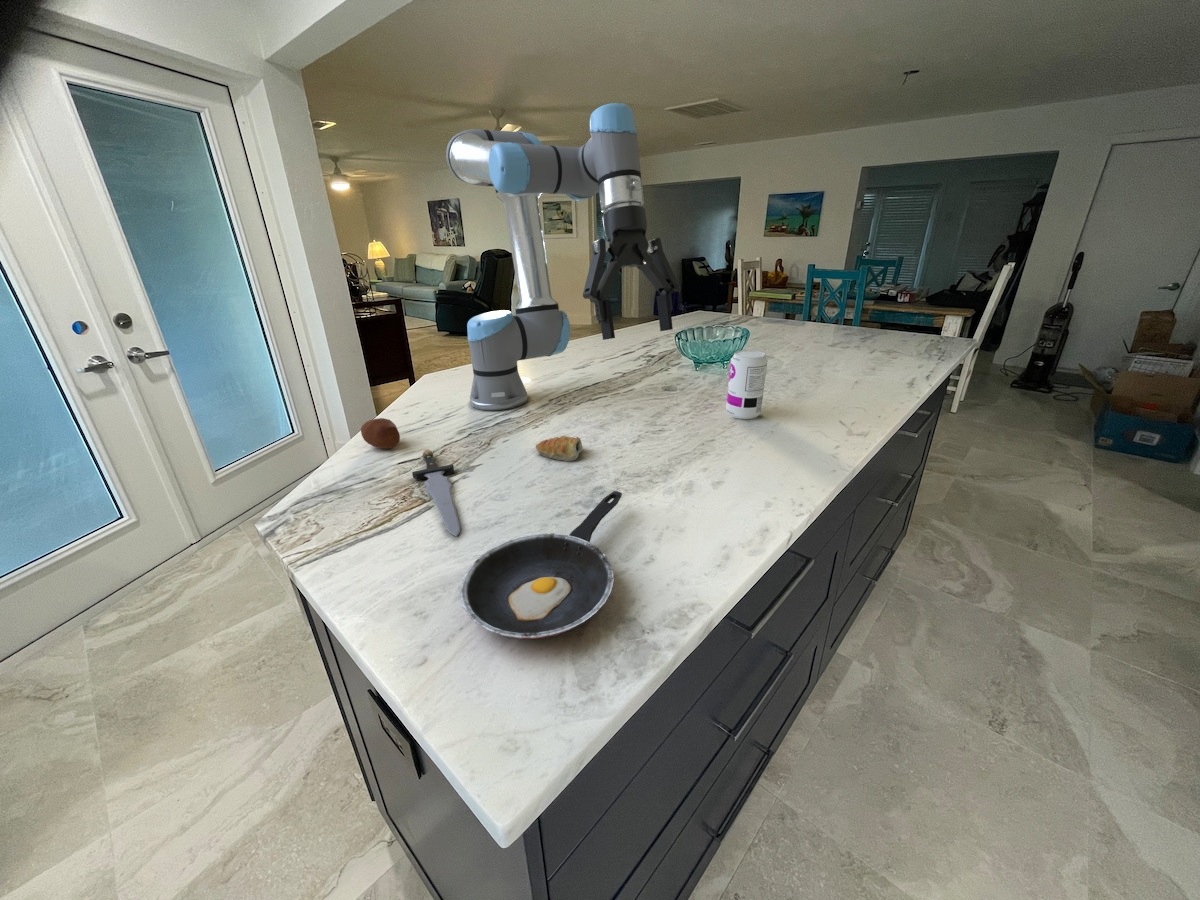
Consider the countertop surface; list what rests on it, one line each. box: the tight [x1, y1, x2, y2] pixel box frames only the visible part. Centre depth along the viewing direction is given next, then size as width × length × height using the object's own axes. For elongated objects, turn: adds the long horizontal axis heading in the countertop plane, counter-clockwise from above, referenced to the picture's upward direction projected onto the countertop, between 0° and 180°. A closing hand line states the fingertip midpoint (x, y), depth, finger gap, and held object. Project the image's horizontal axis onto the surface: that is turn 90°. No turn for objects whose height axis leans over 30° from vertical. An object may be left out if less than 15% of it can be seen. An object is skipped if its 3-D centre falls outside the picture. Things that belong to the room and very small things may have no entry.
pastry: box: [535, 435, 583, 462], centre depth 96 cm, size 9×7×4 cm
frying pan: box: [459, 490, 623, 640], centre depth 64 cm, size 19×32×4 cm, turn 152°
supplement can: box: [725, 349, 769, 420], centre depth 112 cm, size 8×8×15 cm
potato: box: [360, 417, 401, 450], centre depth 102 cm, size 7×9×6 cm
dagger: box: [411, 448, 461, 537], centre depth 85 cm, size 8×32×2 cm, turn 34°
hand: (638, 334), depth 86 cm, fingers open, 13 cm apart
